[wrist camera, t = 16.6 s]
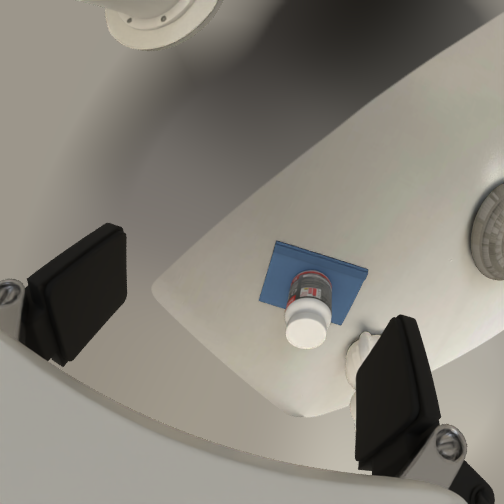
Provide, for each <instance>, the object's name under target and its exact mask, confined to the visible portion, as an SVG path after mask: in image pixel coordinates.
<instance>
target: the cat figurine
mask: <svg viewBox="0 0 504 504" xmlns="http://www.w3.org/2000/svg"><path fill="white" fill-rule="evenodd" d="M380 336H381V335H372V336H371V334H370V333H369V332H363V333H362V334H361V335H360V337H359V340H358V341H356V342H354V343H353V344H352V345H351V346H350V348H349V350H348V352H347V356H346V364H345V369H346V376H347V380H348V382H349V384H350V385H351V386H352V387H353V388H354V389H355V390H356V374H357V371H358V369H359V368H360V366H361V365H362V363H363V362H364V360H365V359H366V357H367V356H368V354H369V353H370V351H371V350H372V348H373V347H374V345H375V344H376V342H377V341H378V339H379V338H380ZM350 411H351V415H352V417H353V419H354V420H355V432H356V392H355V393H354V395H353V396H352V398H351V401H350Z"/></svg>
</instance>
